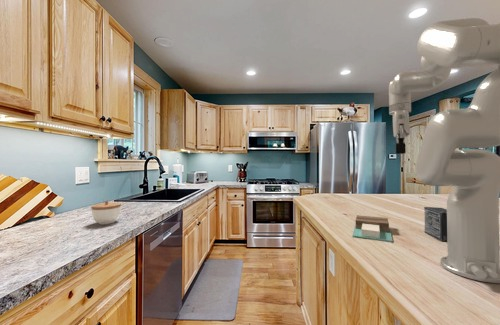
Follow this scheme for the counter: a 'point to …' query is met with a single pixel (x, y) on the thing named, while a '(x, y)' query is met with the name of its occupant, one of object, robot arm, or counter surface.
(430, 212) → the small box
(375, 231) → the cream tile
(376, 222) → the walnut riser
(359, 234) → the teal mat
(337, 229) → the counter surface
